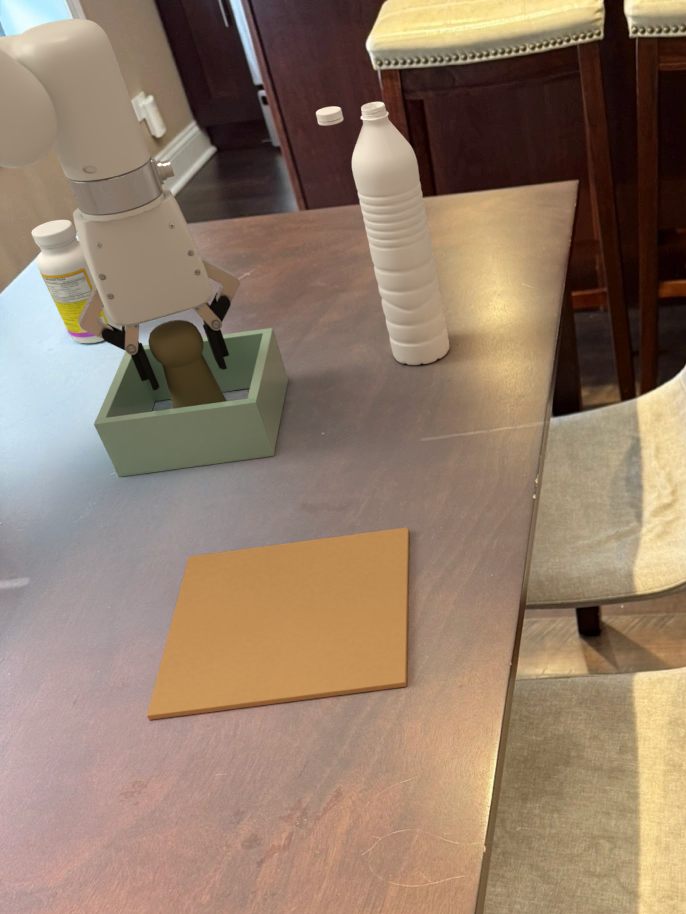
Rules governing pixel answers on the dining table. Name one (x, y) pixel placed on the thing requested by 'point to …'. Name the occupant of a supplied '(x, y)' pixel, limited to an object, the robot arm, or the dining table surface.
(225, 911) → the dining table surface
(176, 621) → the mat
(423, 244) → the bottle and cap
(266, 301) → the dining table surface
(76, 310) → the supplement bottle
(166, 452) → the open box
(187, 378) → the pepper shaker
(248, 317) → the dining table surface
